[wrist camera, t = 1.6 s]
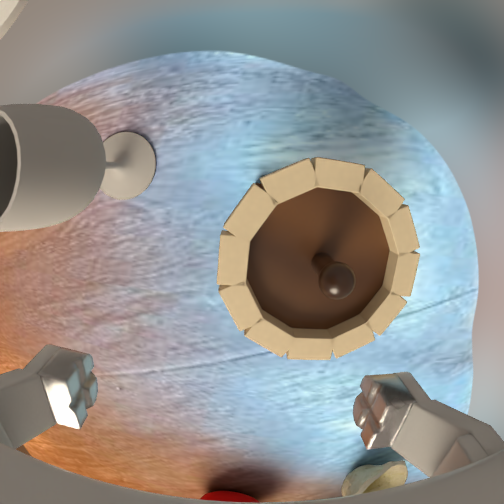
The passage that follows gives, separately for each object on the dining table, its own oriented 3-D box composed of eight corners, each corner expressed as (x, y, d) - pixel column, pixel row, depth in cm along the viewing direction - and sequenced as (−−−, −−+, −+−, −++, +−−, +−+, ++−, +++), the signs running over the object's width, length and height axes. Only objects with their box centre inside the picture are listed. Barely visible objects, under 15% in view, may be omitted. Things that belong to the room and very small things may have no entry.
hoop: (229, 148, 21) (228, 146, 19) (421, 178, 22) (432, 179, 20) (213, 344, 25) (212, 354, 23) (385, 349, 26) (392, 358, 24)
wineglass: (80, 164, 30) (-70, 174, 10) (129, 115, 29) (-3, 60, 9) (120, 215, 32) (-15, 279, 11) (172, 167, 31) (64, 166, 10)
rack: (243, 168, 31) (246, 165, 16) (361, 183, 32) (445, 197, 17) (232, 287, 34) (228, 370, 19) (343, 295, 35) (401, 370, 20)
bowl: (406, 467, 45) (423, 502, 36) (342, 497, 47) (353, 534, 37) (392, 433, 42) (413, 475, 32) (316, 469, 43) (327, 514, 33)
